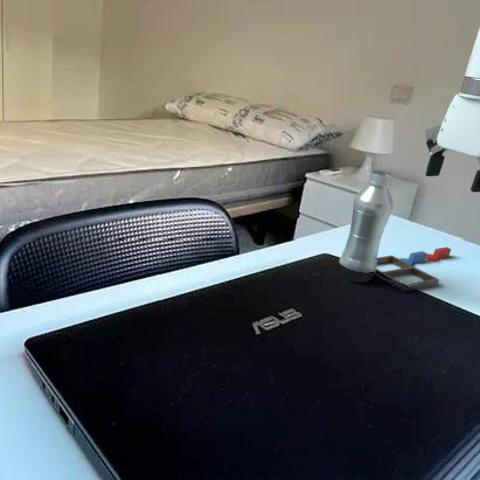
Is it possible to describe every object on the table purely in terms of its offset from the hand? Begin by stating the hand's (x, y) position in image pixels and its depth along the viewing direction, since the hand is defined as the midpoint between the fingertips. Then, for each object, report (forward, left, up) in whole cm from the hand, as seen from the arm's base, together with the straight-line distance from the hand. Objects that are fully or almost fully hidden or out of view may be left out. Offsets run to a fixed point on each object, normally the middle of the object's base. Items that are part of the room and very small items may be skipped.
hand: (453, 183), depth 95 cm
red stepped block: (-1, -3, -17) cm, 17 cm away
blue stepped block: (+2, +4, -17) cm, 17 cm away
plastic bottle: (+6, +21, -17) cm, 27 cm away
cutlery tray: (+1, +13, -17) cm, 22 cm away
